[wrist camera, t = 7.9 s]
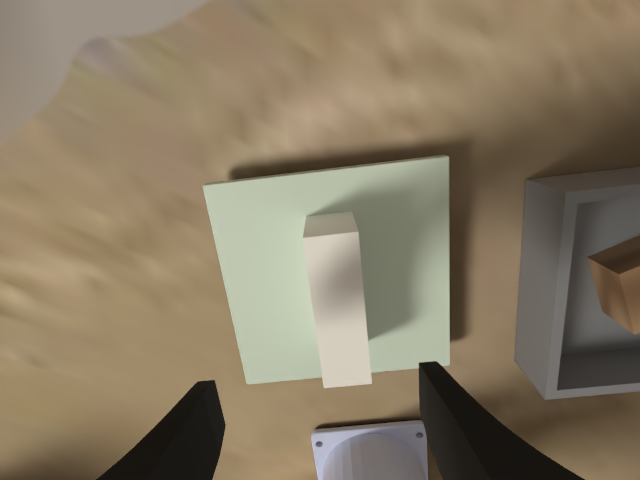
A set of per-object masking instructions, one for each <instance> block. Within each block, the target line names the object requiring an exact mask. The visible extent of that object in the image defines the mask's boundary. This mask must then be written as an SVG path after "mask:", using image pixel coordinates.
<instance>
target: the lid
mask: <svg viewBox="0 0 640 480" xmlns="http://www.w3.org/2000/svg"><path fill="white" fill-rule="evenodd" d="M203 190H204V195H205V199H206V204H207V208H208V213H209V217H210V222H211V226H212V231H213V235H214V239H215V244H216V248H217V253H218V257H219V262H220V266H221V271H222V275H223V280H224V284H225V289H226V293H227V298H228V302H229V307H230V311H231V315H232V320H233V324H234V329H235V333H236V338H237V342H238V347H239V351H240V356H241V360H242V365H243V369H244V374H245V378H246V383H247V384H257V383H267V382H278V381H288V380H299V379H309V378H320V377H322V378H323V385H324V388H331V387H342V386H352V385H363V384H372V380H371V373H372V372H383V371H393V370H404V369H414V368H419V363H420V362H432V361H437V362H438V363H439V364H440V365H441V366H446V365H450V284H449V156H446V155H438V156H430V157H422V158H413V159H405V160H396V161H388V162H379V163H371V164H362V165H354V166H346V167H337V168H329V169H320V170H312V171H303V172H295V173H287V174H278V175H270V176H261V177H253V178H244V179H236V180H228V181H219V182H211V183H206V184H205V185H203Z"/></svg>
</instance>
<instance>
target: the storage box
mask: <svg viewBox="0 0 640 480" xmlns="http://www.w3.org/2000/svg"><path fill="white" fill-rule="evenodd" d="M639 235H640V166H638V167H629V168H621V169H612V170H603V171H595V172H586V173H577V174H569V175H560V176H551V177H543V178H534V179H526V185H525V200H524V216H523V232H522V248H521V263H520V279H519V295H518V310H517V326H516V342H515V357H514V361H515V362H516V363H517V365H518V366H519V367H520V369H521V370H522V371H523V372H524V374H525V375H526V376H527V378H528V379H529V380H530V381H531V383H532V384H533V385H534V387H535V388H536V389H537V390H538V392H539V393H540V394H541V395H542V397H543V398H544V399H545V400H550V399H561V398H572V397H583V396H594V395H605V394H616V393H627V392H638V391H640V333H638V334H633V333H632V332H630V331H629V330H627V329H626V328H625V327H623V326H622V325H620V324H619V323H618V322H616V321H615V320H613V319H612V318H610V317H609V316H608V315H606V314H605V313H603V311H602V308H601V304H600V301H599V298H598V294H597V291H596V287H595V284H594V280H593V277H592V273H591V270H590V266H589V263H588V259H587V257H589V256H591V255H593V254H596V253H598V252H601V251H603V250H605V249H608V248H610V247H612V246H615V245H617V244H620V243H622V242H624V241H627V240H629V239H632V238H634V237H636V236H639Z"/></svg>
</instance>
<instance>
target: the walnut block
mask: <svg viewBox="0 0 640 480" xmlns="http://www.w3.org/2000/svg"><path fill="white" fill-rule="evenodd" d="M587 259H588V263H589V266H590V270H591V273H592V277H593V280H594V284H595V287H596V291H597V294H598V298H599V301H600V304H601V308H602V311H603V313H605V314H606V315H608V316H609V317H610V318H612V319H613V320H615V321H616V322H618V323H619V324H620V325H622V326H623V327H625V328H626V329H627V330H629V331H630V332H632V333H633V334H638V333H640V235H639V236H636V237H634V238H632V239H629V240H627V241H624V242H622V243H620V244H617V245H615V246H612V247H610V248H608V249H605V250H603V251H601V252H598V253H596V254H593V255H591V256H589V257H587Z"/></svg>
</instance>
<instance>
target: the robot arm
mask: <svg viewBox="0 0 640 480" xmlns="http://www.w3.org/2000/svg"><path fill="white" fill-rule="evenodd" d="M419 398H420V412H421V416H422V420H423V421H421V420H414V421H402V422H391V423H380V424H369V425H358V426H347V427H336V428H325V429H316V430H314V431H313V432H312V435H311V440H312V446H313V452H314V458H315V464H316V470H317V476H318V480H428V461H427V439H428V442H429V444H430V447H431V449H432V452H433V455H434V457H435V460H436V463H437V465H438V468H439V470H440V473H441V475H442V478H443V480H585V479H583V478H581V477H579V476H578V475H576V474H574V473H573V472H571V471H569V470H567V469H566V468H564V467H563V466H561V465H560V464H558V463H556V462H555V461H553V460H552V459H550V458H549V457H547V456H545V455H544V454H542V453H541V452H539V451H538V450H536V449H535V448H534V447H532V446H531V445H529V444H528V443H527V442H525V441H524V440H522V439H521V438H520V437H518V436H517V435H516V434H514V433H513V432H512V431H510V430H509V429H508V428H507V427H505V426H504V425H503V424H502V423H501V422H499V421H498V420H497V419H496V418H495V417H494V416H492V415H491V414H490V413H489V412H488V411H487V410H486V409H484V408H483V407H482V406H481V405H480V404H479V403H478V402H477V401H476V400H475V399H474V398H473V397H472V396H470V395H469V394H468V393H467V392H466V391H465V390H464V389H463V388H462V387H461V386H460V385H459V384H458V383H457V382H456V381H455V380H454V379H453V378H452V376H451V375H450V374H449V373H448V372H447V371H446V370H445V369H444V368H443V367H442V366H441V365H440V364H439V363H438V362H437V361H432V362H420V363H419ZM224 431H225V421H224V417H223V413H222V409H221V405H220V401H219V396H218V392H217V388H216V384H215V380H211V381H199V382H197V383H196V384H195V385H194V386H193V387H192V388H191V389H190V390H189V391H188V392H187V393H186V394H185V396H184V397H183V398H182V399H181V400H180V401H179V402H178V403H177V404H176V405H175V406H174V407H173V408H172V410H171V411H170V412H169V413H168V414H167V415H166V416H165V417H164V418H163V419H162V420H161V421H160V422H159V423H158V424H157V425H156V426H155V427H154V428H153V429H152V430H151V431H150V432H149V433H148V434H147V435H146V436H145V437H144V438H143V439H142V440H141V441H140V442H139V443H138V444H137V445H136V446H135V447H134V448H133V449H132V450H130V451H129V452H128V453H127V454H126V455H125V456H124V457H123V458H122V459H120V460H119V461H118V462H117V463H116V464H115V465H113V466H112V467H111V468H110V469H109V470H107V471H106V472H105V473H104V474H103V475H101V476H100V477H99V478H98V479H96V480H212V478H213V475H214V472H215V469H216V466H217V463H218V459H219V456H220V451H221V447H222V442H223V436H224ZM419 432H420V433H419ZM417 433H419V434H417ZM318 441H320V442H318Z"/></svg>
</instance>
